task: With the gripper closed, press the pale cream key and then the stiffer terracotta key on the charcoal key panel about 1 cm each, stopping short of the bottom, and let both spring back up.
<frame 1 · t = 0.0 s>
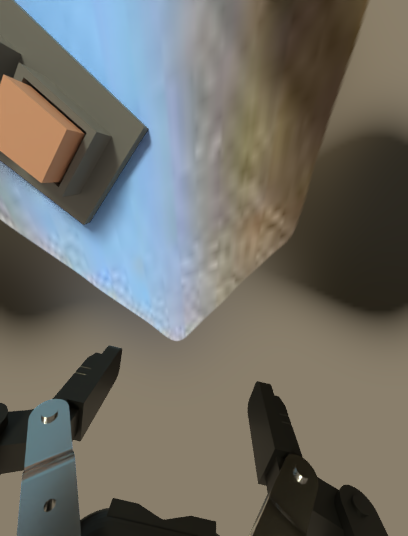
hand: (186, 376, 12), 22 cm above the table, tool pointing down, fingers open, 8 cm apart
terracotta key: (36, 135, 23), point 6 cm above the table, slide at 0.1 cm
key panel: (30, 106, 27), on the table
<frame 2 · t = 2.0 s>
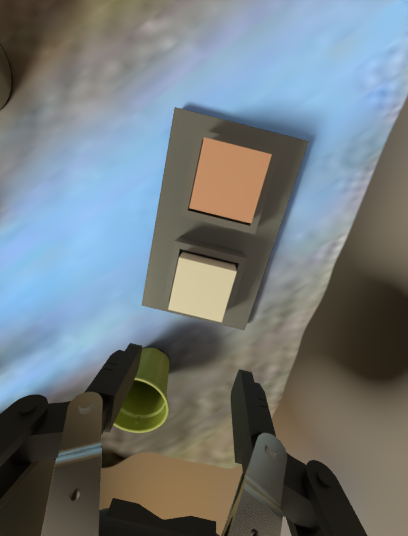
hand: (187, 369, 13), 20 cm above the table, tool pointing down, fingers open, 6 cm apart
plant pot: (152, 360, 37), on the table
cream key: (201, 286, 26), point 6 cm above the table, slide at 0.1 cm
terracotta key: (227, 183, 23), point 6 cm above the table, slide at 0.1 cm
key panel: (214, 232, 30), on the table
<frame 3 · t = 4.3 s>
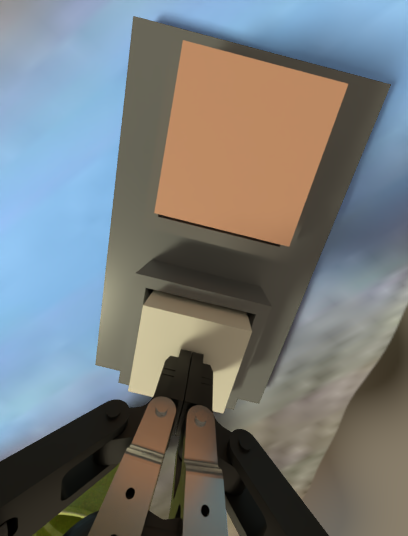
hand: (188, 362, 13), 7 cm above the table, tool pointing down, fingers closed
plant pot: (120, 434, 25), on the table
cream key: (188, 348, 15), point 5 cm above the table, slide at 1.0 cm, touching gripper
terracotta key: (238, 161, 11), point 6 cm above the table, slide at 0.1 cm
key panel: (211, 251, 18), on the table
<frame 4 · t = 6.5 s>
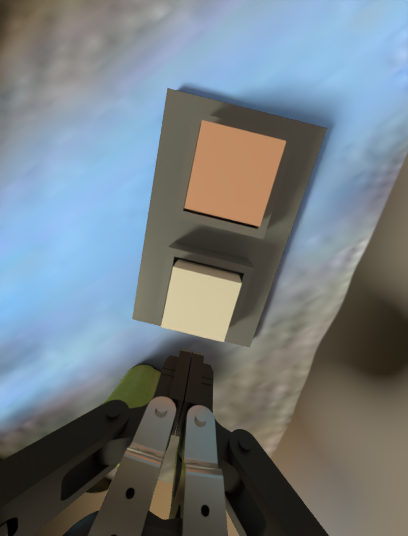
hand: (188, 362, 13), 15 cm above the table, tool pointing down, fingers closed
plant pot: (146, 378, 33), on the table
cream key: (200, 299, 22), point 6 cm above the table, slide at 0.3 cm
terracotta key: (231, 178, 19), point 6 cm above the table, slide at 0.1 cm
key panel: (215, 236, 26), on the table
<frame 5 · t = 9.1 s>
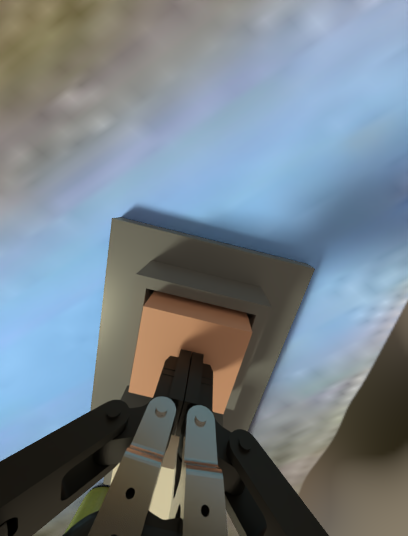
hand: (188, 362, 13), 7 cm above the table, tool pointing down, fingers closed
plant pot: (109, 498, 29), on the table
cream key: (157, 471, 18), point 6 cm above the table, slide at 0.3 cm
terracotta key: (189, 348, 15), point 5 cm above the table, slide at 0.9 cm, touching gripper
key panel: (182, 365, 22), on the table
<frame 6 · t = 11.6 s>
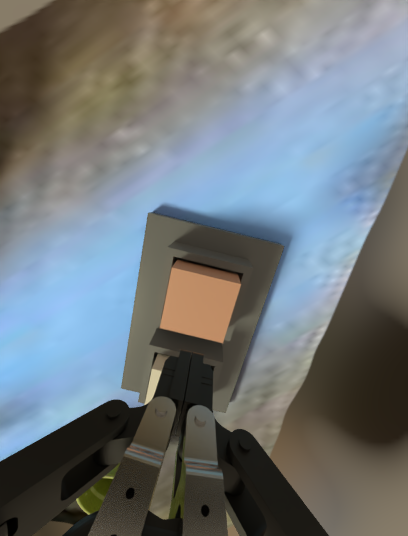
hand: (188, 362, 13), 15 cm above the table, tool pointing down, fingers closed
plant pot: (135, 433, 37), on the table
cream key: (177, 387, 26), point 6 cm above the table, slide at 0.3 cm
terracotta key: (199, 300, 22), point 6 cm above the table, slide at 0.1 cm
key panel: (193, 320, 30), on the table
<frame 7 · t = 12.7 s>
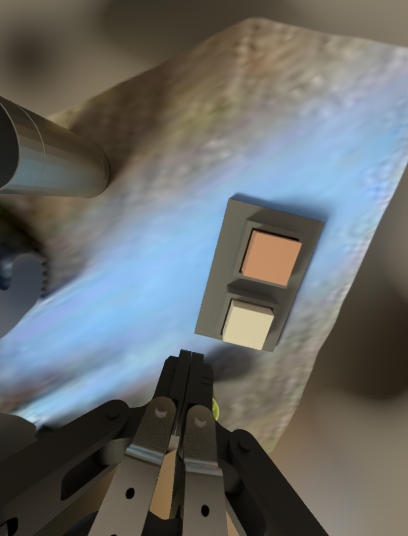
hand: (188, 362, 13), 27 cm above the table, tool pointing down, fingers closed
cream key: (246, 323, 36), point 6 cm above the table, slide at 0.3 cm
terracotta key: (269, 257, 33), point 6 cm above the table, slide at 0.1 cm
key panel: (251, 280, 40), on the table
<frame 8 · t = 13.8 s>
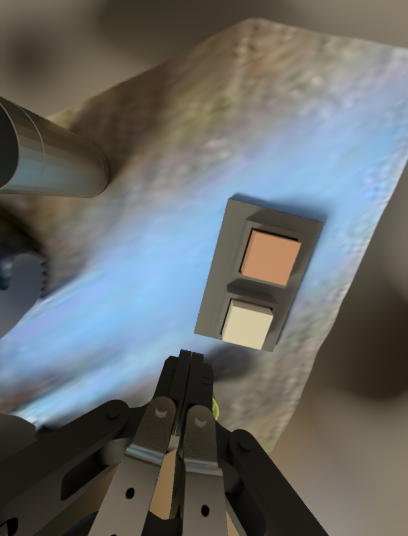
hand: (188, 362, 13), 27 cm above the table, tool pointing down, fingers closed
cream key: (246, 323, 36), point 6 cm above the table, slide at 0.3 cm
terracotta key: (268, 257, 33), point 6 cm above the table, slide at 0.1 cm
key panel: (251, 280, 40), on the table
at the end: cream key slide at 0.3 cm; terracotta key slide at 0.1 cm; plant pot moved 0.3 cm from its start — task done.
